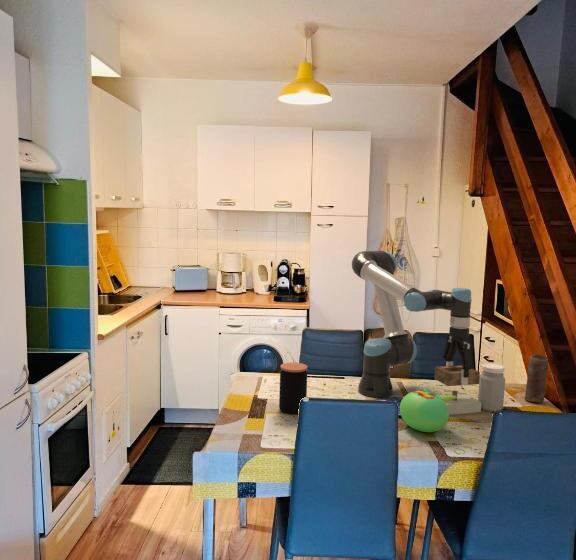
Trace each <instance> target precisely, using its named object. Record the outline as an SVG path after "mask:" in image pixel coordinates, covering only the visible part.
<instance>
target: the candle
mask: <svg viewBox="0 0 576 560" xmlns="http://www.w3.org/2000/svg"><path fill="white" fill-rule="evenodd" d="M548 364H549V358H548V357H547V356H545V355H541V354H534V353H533V354H531V355H529V360H528V369H527V377H526V386H525V394H524V400H526V401H527V402H531V403H535V404H540V403H542V402H544V401H545V396H546V395H545V393H546V384H547V373H548Z"/></svg>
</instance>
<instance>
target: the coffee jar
mask: <svg viewBox="0 0 576 560" xmlns="http://www.w3.org/2000/svg"><path fill="white" fill-rule="evenodd" d="M307 370H308V366H307V364H305V363H301V362H285V363H282V364H280V372H279V399H278V401H279V403H278V406H279V410H280V412H281V413H283V414H285V415H290V416H297V415H299V414H298V409H299V403H300V400H301V399H302V398H304V397H307V396H308V394H307V390H308V372H307Z"/></svg>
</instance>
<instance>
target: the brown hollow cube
mask: <svg viewBox="0 0 576 560" xmlns="http://www.w3.org/2000/svg"><path fill="white" fill-rule="evenodd" d="M465 366H466V365H465ZM461 368H463V366H462V364H461V365H453V366H446V365H445V366H435V367H434V380H436V381H437V382H440V383H441V384H443V385H445V386H447V387H457V386H462V385H461ZM480 375H481V373H480V371H479V370H477V369H474V368H473V369H469V377H468V385H467V386H473V385H474V386H475V385H479V378H480Z"/></svg>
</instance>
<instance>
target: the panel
mask: <svg viewBox="0 0 576 560" xmlns="http://www.w3.org/2000/svg"><path fill="white" fill-rule="evenodd" d="M451 395H452V396H456V397H457V398H456V399H454V400H451V401H448V402H446V405H447V407H448V410H449V416H451V415H460V414H473V413H474V414H476V413H482V411H481V410H482V409H481V402H479V401H478V399H477V398H475V397H472V396H470V395H469V394H467V393H466V394H465V393H464V394H459V393H458V390H452V394H451Z"/></svg>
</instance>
